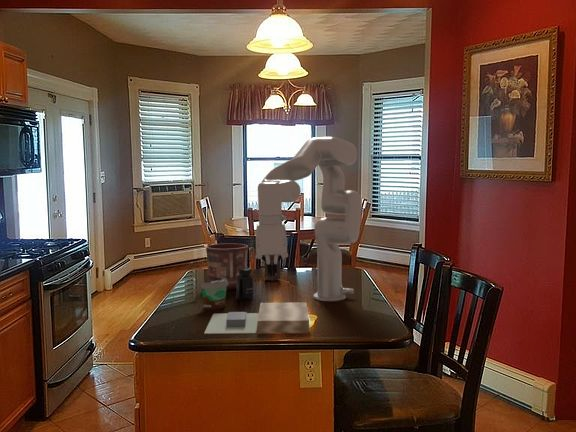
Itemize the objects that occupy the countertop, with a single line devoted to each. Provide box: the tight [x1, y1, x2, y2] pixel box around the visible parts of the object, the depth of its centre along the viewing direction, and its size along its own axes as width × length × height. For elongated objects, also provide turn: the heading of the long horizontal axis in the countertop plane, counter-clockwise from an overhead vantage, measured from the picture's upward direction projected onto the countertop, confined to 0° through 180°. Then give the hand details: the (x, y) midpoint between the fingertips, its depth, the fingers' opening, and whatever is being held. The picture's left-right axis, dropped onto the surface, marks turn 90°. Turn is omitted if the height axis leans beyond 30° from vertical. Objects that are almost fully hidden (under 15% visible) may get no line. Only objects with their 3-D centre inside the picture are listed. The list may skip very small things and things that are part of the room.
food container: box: [200, 277, 228, 310], centre depth 195 cm, size 12×6×10 cm, turn 148°
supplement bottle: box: [235, 267, 255, 302], centre depth 207 cm, size 7×7×12 cm
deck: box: [257, 301, 310, 335], centre depth 174 cm, size 16×22×4 cm
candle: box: [263, 255, 282, 282], centre depth 239 cm, size 8×7×20 cm
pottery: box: [205, 242, 249, 291], centre depth 227 cm, size 18×18×18 cm
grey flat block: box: [226, 311, 247, 327], centre depth 174 cm, size 6×9×2 cm, turn 2°
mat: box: [203, 312, 259, 335], centre depth 175 cm, size 16×22×1 cm
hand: (272, 275), depth 174 cm, fingers closed
